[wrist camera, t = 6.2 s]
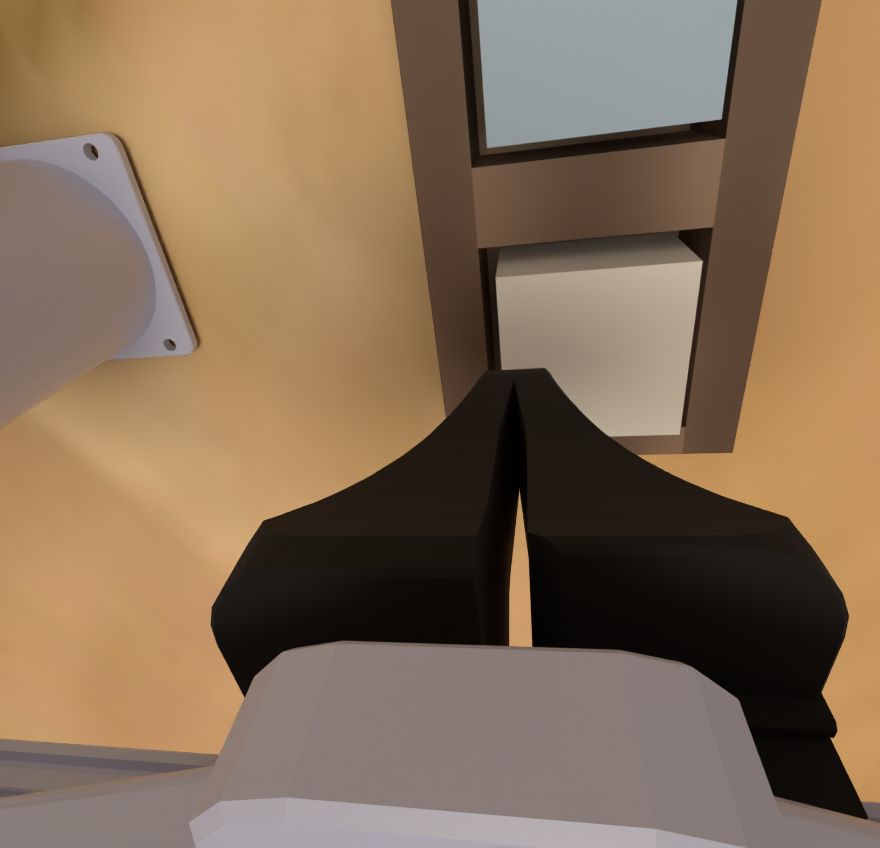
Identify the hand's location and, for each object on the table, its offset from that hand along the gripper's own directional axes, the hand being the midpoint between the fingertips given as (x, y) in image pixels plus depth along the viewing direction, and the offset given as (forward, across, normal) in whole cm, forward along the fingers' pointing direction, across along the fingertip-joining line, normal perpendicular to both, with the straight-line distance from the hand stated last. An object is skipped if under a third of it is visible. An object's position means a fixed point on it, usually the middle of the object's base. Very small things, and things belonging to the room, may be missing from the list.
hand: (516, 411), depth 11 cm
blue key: (+7, -2, -7) cm, 10 cm away
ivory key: (+7, -2, +1) cm, 7 cm away
